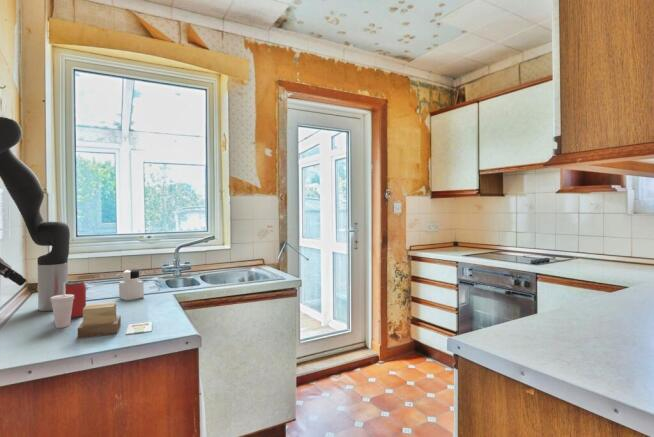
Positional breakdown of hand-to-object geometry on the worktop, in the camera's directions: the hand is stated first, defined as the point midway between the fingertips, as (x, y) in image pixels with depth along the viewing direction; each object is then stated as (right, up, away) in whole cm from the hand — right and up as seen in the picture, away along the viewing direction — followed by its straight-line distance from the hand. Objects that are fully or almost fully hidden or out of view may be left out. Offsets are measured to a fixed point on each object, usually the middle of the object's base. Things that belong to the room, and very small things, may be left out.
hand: (22, 281), depth 111 cm
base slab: (+22, -16, +2) cm, 28 cm away
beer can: (+3, -16, +19) cm, 25 cm away
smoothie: (+7, -16, +7) cm, 19 cm away
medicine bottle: (+8, -15, +46) cm, 50 cm away
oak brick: (+22, -13, +2) cm, 26 cm away
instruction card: (+33, -16, +5) cm, 37 cm away
